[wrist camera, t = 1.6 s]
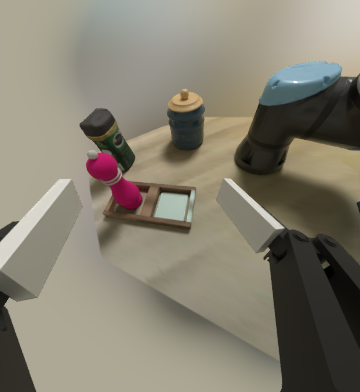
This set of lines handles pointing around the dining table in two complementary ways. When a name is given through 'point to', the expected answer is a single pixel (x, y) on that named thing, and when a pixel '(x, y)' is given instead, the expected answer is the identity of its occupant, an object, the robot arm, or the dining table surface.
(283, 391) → the robot arm
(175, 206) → the pad
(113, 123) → the coffee jar
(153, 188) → the brown wooden frame
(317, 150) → the dining table surface
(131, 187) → the pepper mill
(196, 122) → the canister
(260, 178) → the dining table surface
